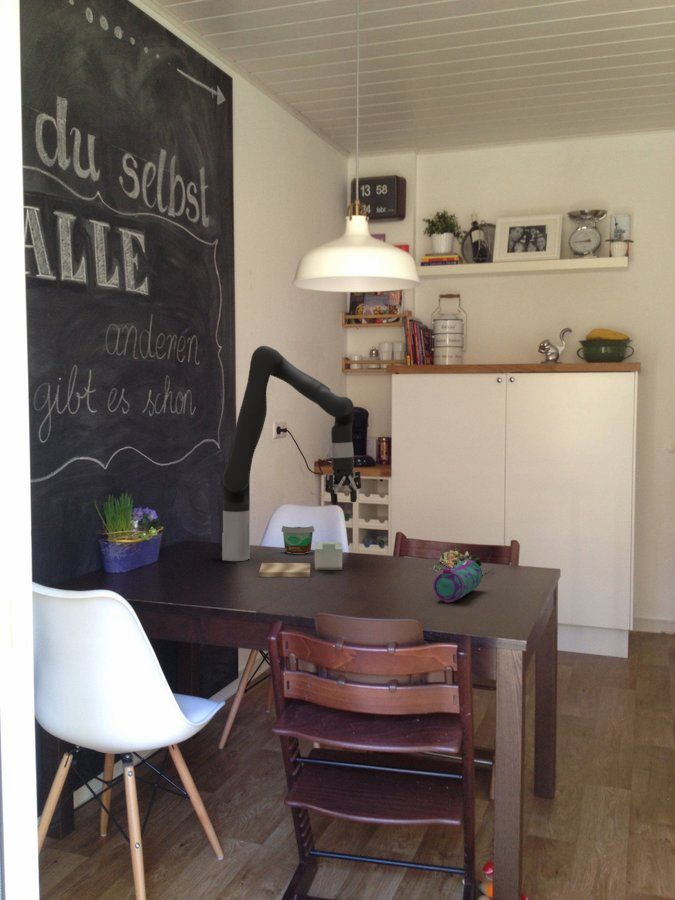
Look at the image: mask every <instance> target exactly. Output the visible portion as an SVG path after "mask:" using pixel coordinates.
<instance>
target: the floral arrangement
mask: <svg viewBox="0 0 675 900" xmlns="http://www.w3.org/2000/svg"><path fill="white" fill-rule="evenodd" d="M454 547H455V548H454V550H455V551H454V550H449V551H446V552H444V548H442V551H441V556H440V557H439V560H438V562H439V561H440V562H442V563H444V564H447V566H449V567H451V568H452V569H453V567H454V566H456V565H457V564H458V563H459V562H462V561H464V560H467V559H468V560H471V561H474V562H475V563H476V564H477V565H479V566H481V565H482V564H483V563H482V560H480V557H476V556H474V555H473V556H472V555H470V554H469V552H468V550H467V551H465V554H462V553H461V551H459V549H458V548H457V543H455V544H454ZM433 565H434V567H433V566H431V567H432V568H433V570H434V569H435V571H437V570H442V569H447V567H446V566H444V567H442V568H441V567H440V568H439V567H438V568H436V567H435V565H436V563H435V564H433ZM440 566H442V564H440ZM432 568H429V570H430V569H432ZM436 569H437V570H436Z"/></svg>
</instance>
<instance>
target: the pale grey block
mask: <svg viewBox="0 0 675 900" xmlns="http://www.w3.org/2000/svg"><path fill="white" fill-rule="evenodd" d="M342 545H343V544H342V542H341V541H339V542H338V541H337V542H336V541H322V542H320V541H318V542H317V541H316V542H314V554H315V553H323V555H335V553H342V554H343V546H342Z"/></svg>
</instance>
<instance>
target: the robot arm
mask: <svg viewBox="0 0 675 900" xmlns="http://www.w3.org/2000/svg"><path fill="white" fill-rule="evenodd" d="M250 358H251V359H250V363H249V372H248V377H247V381H246V382H247V383H246V388H245V391H244V394H243V398H242V402H241V406H240V409H239V412H238V417H237V421H236V425H235V431H234V440H233V446H232V447H233V448H232V452H231V455H230V457H229V460H228V464H227V466H226V468H225V470H224V472H223V475H222V482H223V483H222V485H223V486H222V492H223V494H222V508H223V509H222V534H221V538H222V539H221V541H222V542H221V543H222V544H221V547H222V548H221V549H222V550H221V558H222V559H221V560H222V561H227V562H243V561H244V562H245V561H248V559H249V560H250V559H251V558H250V554H251V553H250V551H251V550H250V546H251V545H250V536H251V535H250V534H251V532H250V531H251V530H250V526H251V525H250V522H251V519H250V518H251V517H250V516H251V515H250V511H251V509H250V506H251V505H250V504H251V497H250V494H251V493H250V490H251V489H250V488H251V487H250V479H251V468H252V462H253V458H254V454H255V452H256V448H257V446H258V443H259V441H260V438H261V435H262V432H263V429H264V425H265V422H266V419H267V412H268V405H267V403H268V401H267V389H268V384H269V380H270V378H271V377H274V378H277V379H280V380H281V381H282V382H285V383H287V384H288V385H289V386H290V387H292V388H293V389H294V390H296V391H297V392H298V393H299V394H301V395H302V396H303V397H305V398H307V400H310V401H311V402H313V403H314V404H316V405H318V407H320V408H321V410H323V411H324V412H325V413H327V414H328V415H329V416H331V417H333V418H334V424H333V426H332V428H331V430H330V431H331V433H330V434H331V448H330V452H331V455H330V456H331V470H332V471H333V472H332V474H329V473H328V474H326V475H325V491H324V492H325V493H328V494H330V503H331V505H332V506H338V504H339V503H338V492H339V489H341V487H345V486H347V487H348V489H349V490H350V491H349V496H350V502H351V503H357V499H358V495H357V494H358V493H357V491H358V490H359V489H362V480H361V478H362V477H361V472H360V471H356V470H355V471H353V470H354V468H355V462H354V460H355V458H354V445H353V430H352V429H353V424H354V417H355V416H354V415H355V407H354V402H353V401H352V399H351V398H350V397H347V396H339V395H337V394H335V393H334V392H333V391H331V388H330V387H329V386H327V385H326V384H324V383H323V382H321V381H319V380H318V379H316V378H315V377H313V376H311V375H310V374H307V373H305V372H304V371H302V370H300V369H299V368H297V367H296V366H294V365H293V364H292V363H291V362H290V361H288V360H287V359H286V358H285V357H284V356H283V355H282V354H281V353H280V352H279V351H278V350H276V349H275V348H272V347H270V346H267V345H260V346H258V347H257V348H256V349H255V350H254V351H253V353H252V355H251V357H250Z"/></svg>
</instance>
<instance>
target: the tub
mask: <svg viewBox="0 0 675 900" xmlns="http://www.w3.org/2000/svg"><path fill="white" fill-rule="evenodd" d="M314 570H315V571H320V570H321V571H323V570H324V571H326V570H327V571H329V570H330V571H342V570H343V552H342V553H335V555H323V553H315V552H314Z"/></svg>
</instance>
